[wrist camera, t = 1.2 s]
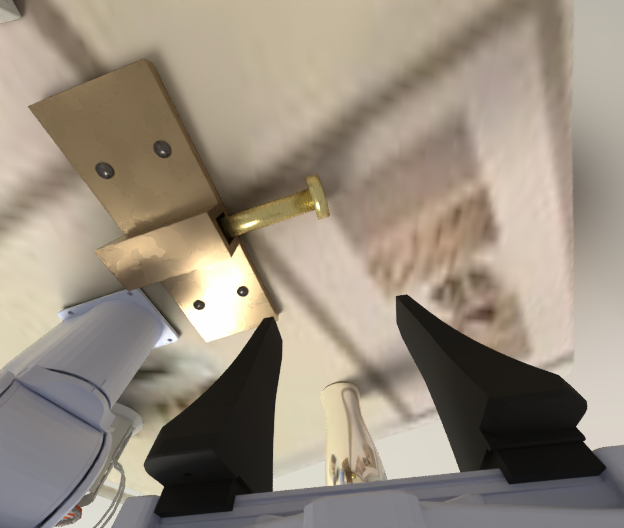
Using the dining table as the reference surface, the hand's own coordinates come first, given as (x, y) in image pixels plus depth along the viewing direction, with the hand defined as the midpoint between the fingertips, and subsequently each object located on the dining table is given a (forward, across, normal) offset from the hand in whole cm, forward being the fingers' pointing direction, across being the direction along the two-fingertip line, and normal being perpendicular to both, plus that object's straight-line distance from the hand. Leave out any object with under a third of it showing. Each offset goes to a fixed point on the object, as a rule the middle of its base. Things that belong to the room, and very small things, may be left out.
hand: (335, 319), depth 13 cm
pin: (+11, +5, -5) cm, 13 cm away
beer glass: (+11, +2, +25) cm, 28 cm away
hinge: (+10, +13, -4) cm, 17 cm away
